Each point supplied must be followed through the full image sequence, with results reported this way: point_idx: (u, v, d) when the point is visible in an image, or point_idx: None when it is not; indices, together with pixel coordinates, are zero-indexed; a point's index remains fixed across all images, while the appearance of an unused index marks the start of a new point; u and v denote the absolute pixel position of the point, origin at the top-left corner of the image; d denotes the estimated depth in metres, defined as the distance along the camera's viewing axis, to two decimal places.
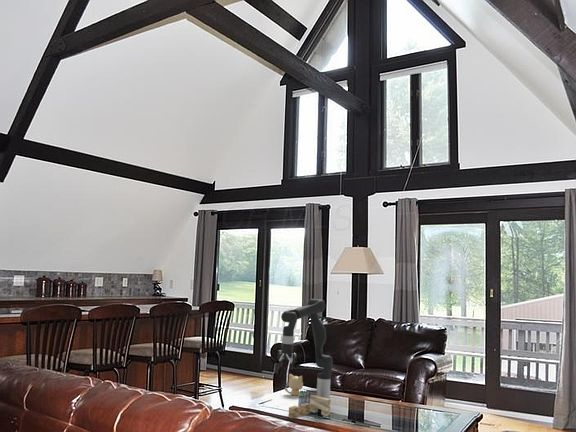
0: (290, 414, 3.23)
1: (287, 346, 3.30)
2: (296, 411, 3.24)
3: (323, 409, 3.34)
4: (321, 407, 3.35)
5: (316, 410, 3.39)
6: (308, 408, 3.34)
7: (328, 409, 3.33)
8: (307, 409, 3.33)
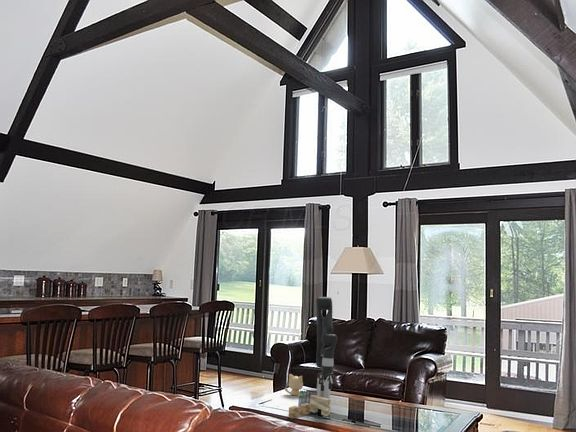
0: (290, 414, 3.23)
1: None
2: (296, 411, 3.24)
3: (323, 409, 3.34)
4: (321, 407, 3.35)
5: (316, 410, 3.39)
6: (308, 408, 3.34)
7: (328, 409, 3.33)
8: (307, 409, 3.33)
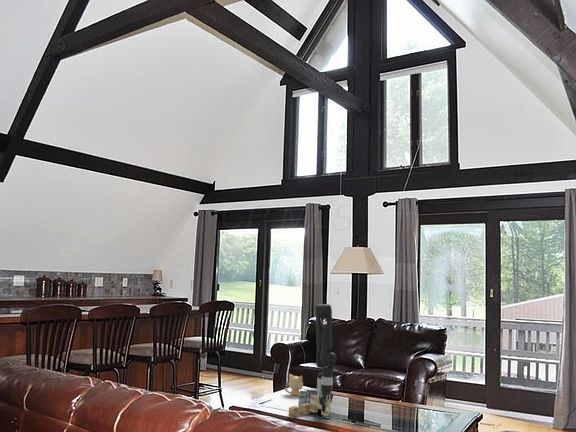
0: (290, 414, 3.23)
1: None
2: (296, 411, 3.24)
3: None
4: (321, 407, 3.35)
5: (316, 410, 3.39)
6: (308, 408, 3.34)
7: (328, 409, 3.33)
8: (307, 409, 3.33)
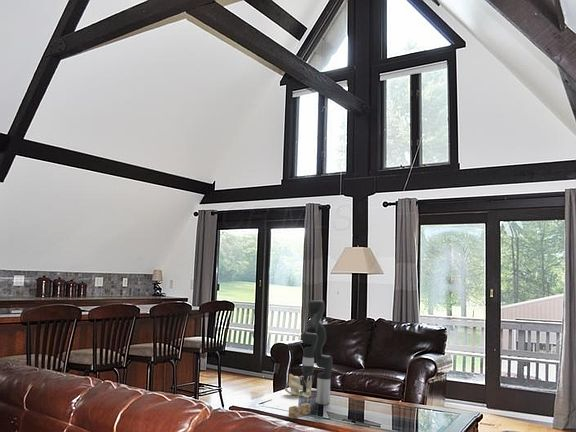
0: (290, 414, 3.23)
1: (313, 368, 3.29)
2: (296, 411, 3.24)
3: None
4: (302, 388, 3.28)
5: (297, 392, 3.33)
6: (308, 408, 3.34)
7: (309, 390, 3.26)
8: (307, 409, 3.33)
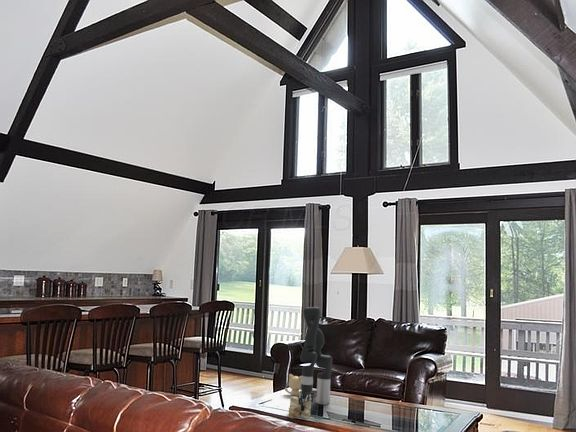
0: (290, 414, 3.23)
1: (312, 386, 3.28)
2: (296, 411, 3.24)
3: (303, 411, 3.25)
4: None
5: None
6: None
7: (308, 411, 3.25)
8: None
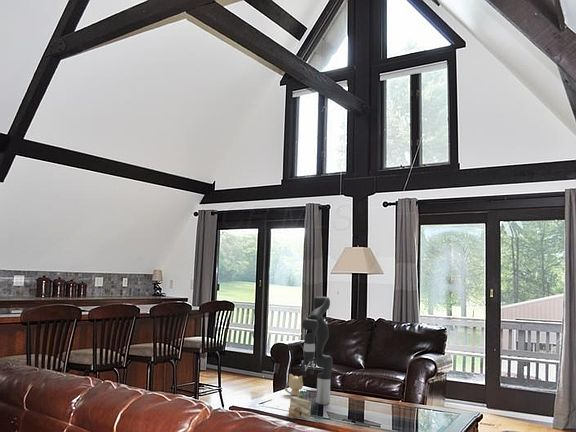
0: (290, 414, 3.23)
1: (314, 353, 3.35)
2: (296, 411, 3.24)
3: (303, 411, 3.25)
4: (301, 409, 3.26)
5: None
6: None
7: (308, 411, 3.25)
8: None
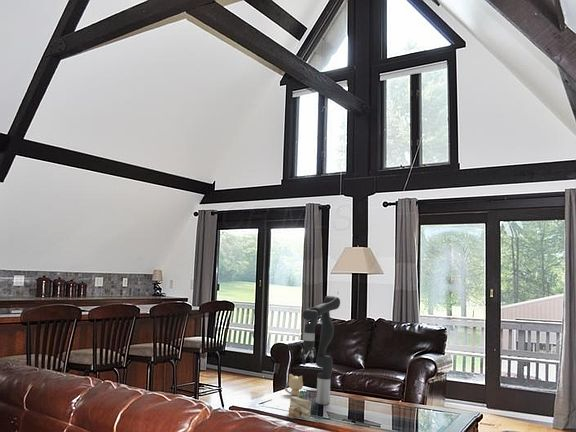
0: (290, 414, 3.23)
1: None
2: (296, 411, 3.24)
3: (303, 411, 3.25)
4: (301, 409, 3.26)
5: None
6: None
7: (308, 411, 3.25)
8: None
